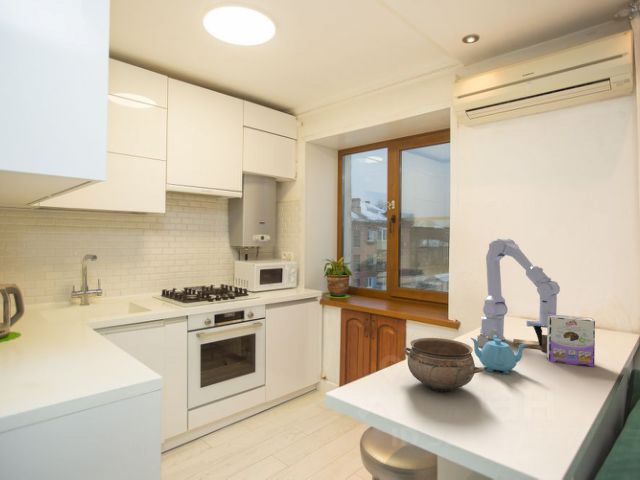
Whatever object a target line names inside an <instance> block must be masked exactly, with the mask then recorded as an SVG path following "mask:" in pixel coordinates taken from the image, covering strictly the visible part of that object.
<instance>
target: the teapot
mask: <svg viewBox="0 0 640 480" xmlns="http://www.w3.org/2000/svg"><path fill="white" fill-rule="evenodd" d="M470 339H471V340H472V341H473V345H474V346H473V348H474V349H473V351H474V354H475V356H476V357H477V358H478V359H479V362H480V363H481V364H482V365H483V366H484V367H485V368H487V369H486V371H487V372H490V373H492V372H494V370H495V371H502V373H503V374H506V375H510V374H511V373H510V371H511V370H514V368H515V367H516V366H517V363H519V362H520V361H521V360H522V358H523V350H524V348H525V347H524V346H525V345H526V344H527V343H525V344H521V345H520V346H519V347H517V348H518V349H517V352H516V353H514V350H512V347H511V346H510V345H509V344H508V343H506V342H503V340H500V339H497V335H495V334H494V335H493V339H492V340H491V341H490V340H489V342H487V343H486V344H485V345H484V347H481V348H482V349H480V348H479V346H478V342H477V338H476V339H475V338H473V337H470Z"/></svg>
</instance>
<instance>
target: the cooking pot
mask: <svg viewBox="0 0 640 480" xmlns="http://www.w3.org/2000/svg"><path fill="white" fill-rule="evenodd" d="M409 344H410V346H411V348H410V347H404V348H403V349H402V350H403V352H404V354H405V355H406V356H407V367H408V370H409V372H410V373H411V376H413V377H414V378H415V379H416V380H417V381H419V383H421V384H423V385H425V386H426V387H428V388H429V389H431V390H433V391H436V392H440V393H441V392H442V393H443V392H445V393H448V392H451V391H453V390H455V389H459V388H462V387H463V386H466V385H467V384H469V383H470V382H471V381H472V379H473V377H474V376H475V374H479V373H481V372H484V370H485V368H484V367H483V366H480V367H478V366H475V365H476V364H475V360H474V357H473V355H472V352H473V351H474V349H473V347H472V346H470V344H468V343H465V342H461V341H458V340H454V339H450V338H441V337H440V338H439V337H423V338H422V337H421V338H416V339H413V340H411V341H410V343H409Z"/></svg>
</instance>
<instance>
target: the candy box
mask: <svg viewBox="0 0 640 480" xmlns="http://www.w3.org/2000/svg"><path fill="white" fill-rule="evenodd" d="M546 329H547V332H546V333H547V334H546V335H547V352H546V358H547V361H548V362H551V363H560V364H567V365H575V366H584V367H592V368H594V367H595V361H596V360H595V359H596V358H595V349H596V347H595V345H596V343H595V340H596V337H595V336H596V320H595V319H594V318H593V317H587V316H586V317H585V316H584V317H583V316H575V315H573V316H572V315H565V314H564V315H563V314H556V315H552V314H548V328H546Z"/></svg>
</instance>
